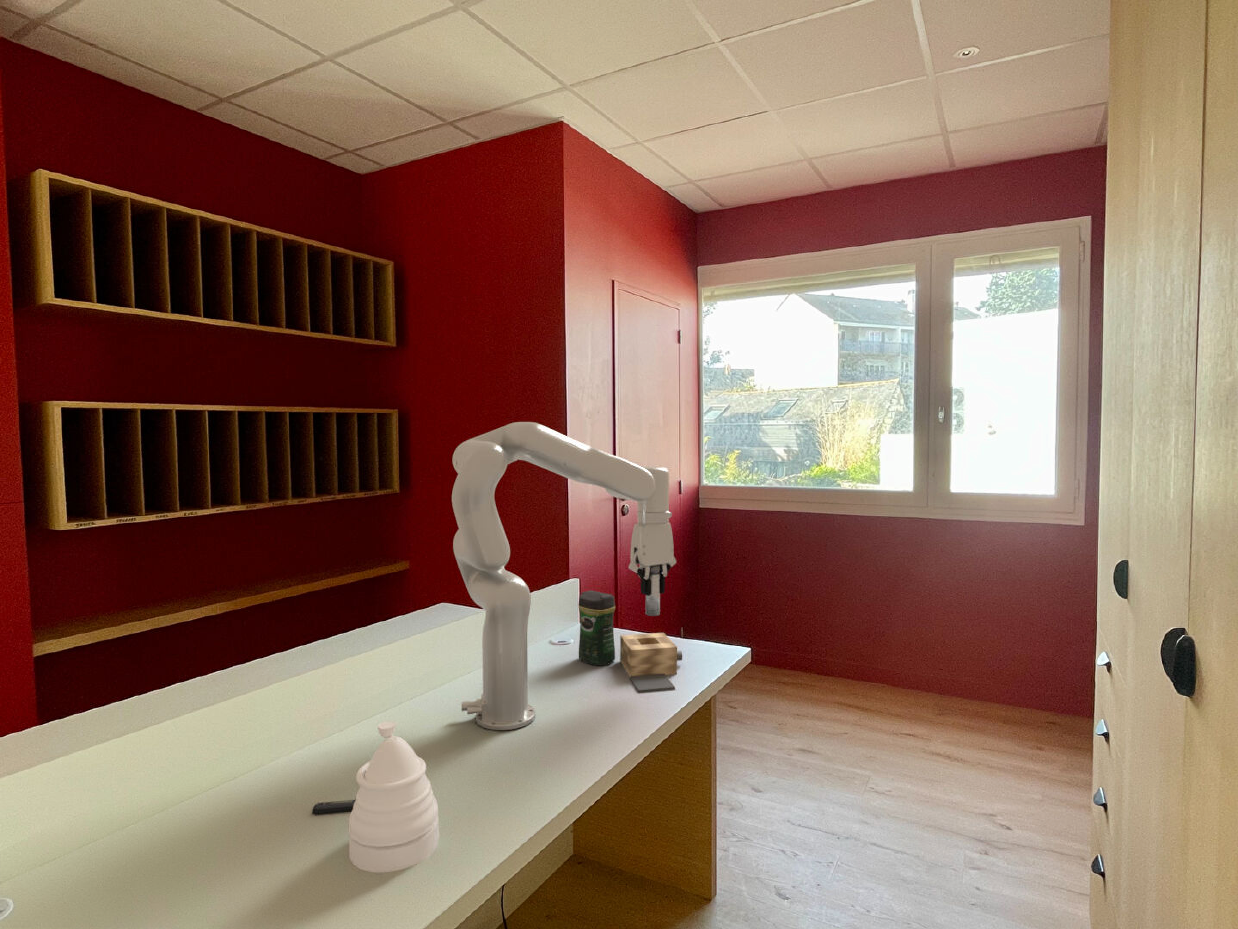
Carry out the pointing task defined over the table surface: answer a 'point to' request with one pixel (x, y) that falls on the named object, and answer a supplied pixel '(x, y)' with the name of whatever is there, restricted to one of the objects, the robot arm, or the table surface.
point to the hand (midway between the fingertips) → (652, 592)
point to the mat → (651, 683)
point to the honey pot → (393, 809)
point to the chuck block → (649, 654)
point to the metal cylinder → (654, 592)
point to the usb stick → (333, 807)
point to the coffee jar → (596, 628)
